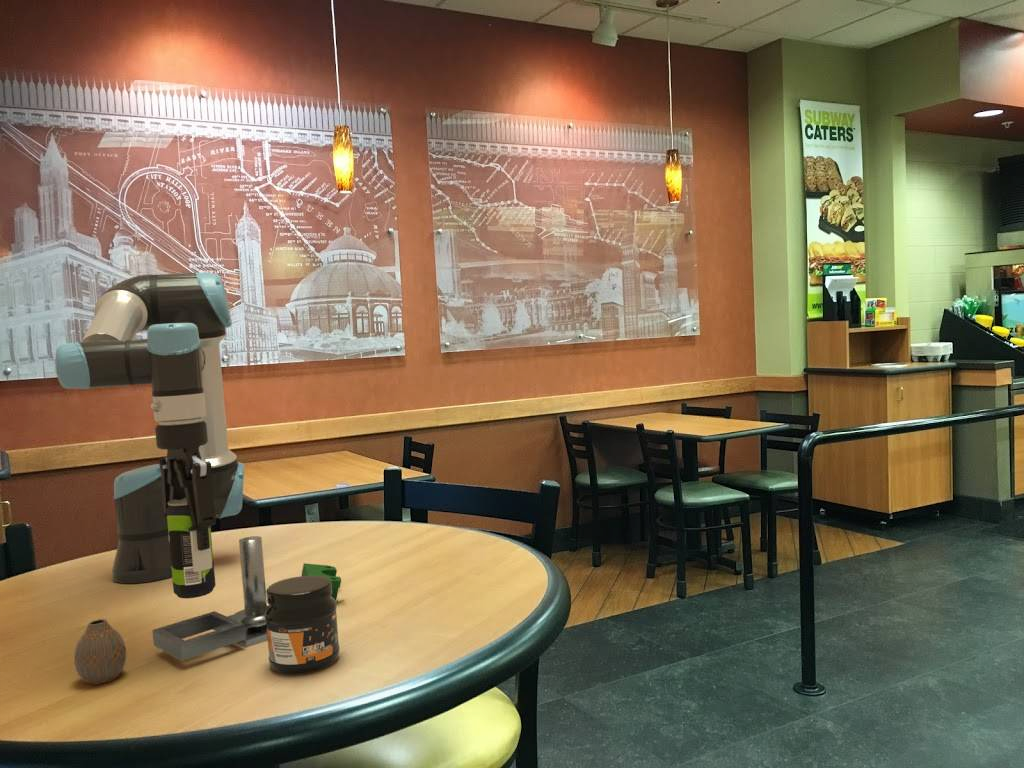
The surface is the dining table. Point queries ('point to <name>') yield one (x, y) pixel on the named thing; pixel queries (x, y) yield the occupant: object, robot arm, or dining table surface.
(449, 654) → the dining table surface
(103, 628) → the vase
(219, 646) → the frame with upright rod
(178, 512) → the beverage can
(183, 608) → the dining table surface
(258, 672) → the dining table surface
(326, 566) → the clamp
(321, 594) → the supplement container
